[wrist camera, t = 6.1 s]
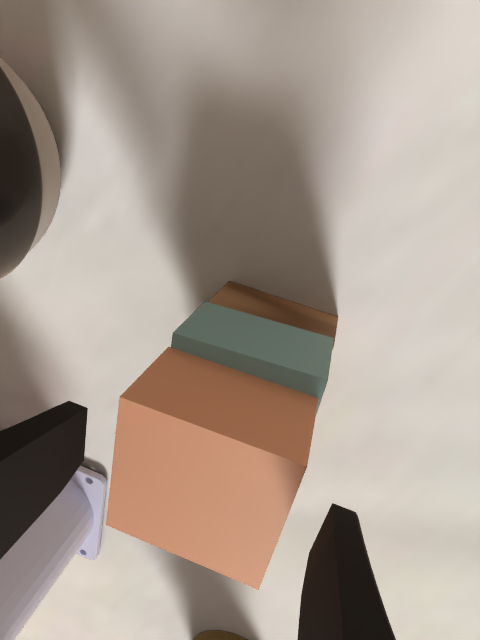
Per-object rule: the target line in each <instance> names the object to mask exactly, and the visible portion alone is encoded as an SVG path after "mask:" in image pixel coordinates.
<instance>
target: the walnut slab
mask: <svg viewBox="0 0 480 640" xmlns="http://www.w3.org/2000/svg"><path fill="white" fill-rule="evenodd" d="M209 303H213V304H216V305H220V306H223V307H227V308H230V309H234V310H237V311H241V312H244V313H248V314H251V315H255V316H258V317H262V318H265V319H269V320H272V321H276V322H279V323H283V324H286V325H290V326H293V327H297V328H300V329H304V330H307V331H311V332H314V333H318V334H321V335H325V336H328V337H332V338H334V340H333V347H334V342H335V335H336V328H337V321H338V317H337V316H334V315H331V314H328V313H325V312H322V311H319V310H316V309H313V308H310V307H307V306H304V305H301V304H298V303H295V302H292V301H289V300H286V299H283V298H280V297H277V296H274V295H271V294H268V293H265V292H262V291H259V290H256V289H253V288H250V287H247V286H244V285H241V284H238V283H234V282H231V281H229V282H228V283H227V284H226V285H225V286H224V287H223V288H222V289H221V290H220V291H219V292H218V293H217V294H216V295H215V296H214V297H213V298H212V299H211V300H210V301H209ZM333 347H332V350H333Z"/></svg>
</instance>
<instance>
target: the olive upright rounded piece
mask: <svg viewBox="0 0 480 640" xmlns="http://www.w3.org/2000/svg"><path fill="white" fill-rule="evenodd" d="M194 640H247V639H245V638H243V637H240V636H238V635H235V634H233V633H229V632H225V631H220V630H214V631H205V632H203V633H200V634H198V636H197V637H196V638H195V639H194Z"/></svg>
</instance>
